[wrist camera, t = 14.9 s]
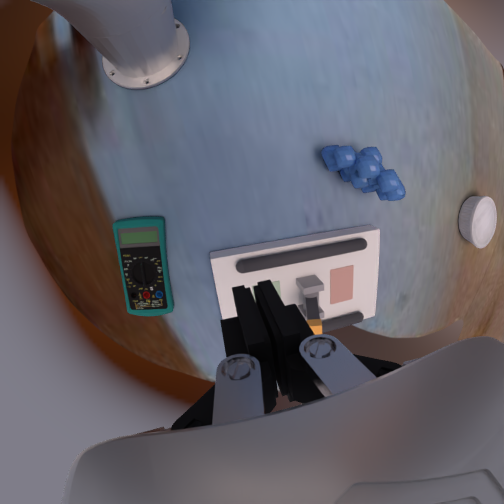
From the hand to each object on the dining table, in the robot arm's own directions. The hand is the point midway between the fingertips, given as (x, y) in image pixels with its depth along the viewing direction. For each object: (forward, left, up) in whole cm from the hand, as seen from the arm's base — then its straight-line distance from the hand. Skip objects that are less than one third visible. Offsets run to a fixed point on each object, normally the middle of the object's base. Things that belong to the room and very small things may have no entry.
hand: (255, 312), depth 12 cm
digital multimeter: (+7, -12, -29) cm, 32 cm away
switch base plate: (+14, +11, -28) cm, 34 cm away
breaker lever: (+14, +11, -25) cm, 31 cm away
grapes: (-4, +20, -29) cm, 35 cm away
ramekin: (+8, +53, -29) cm, 61 cm away
